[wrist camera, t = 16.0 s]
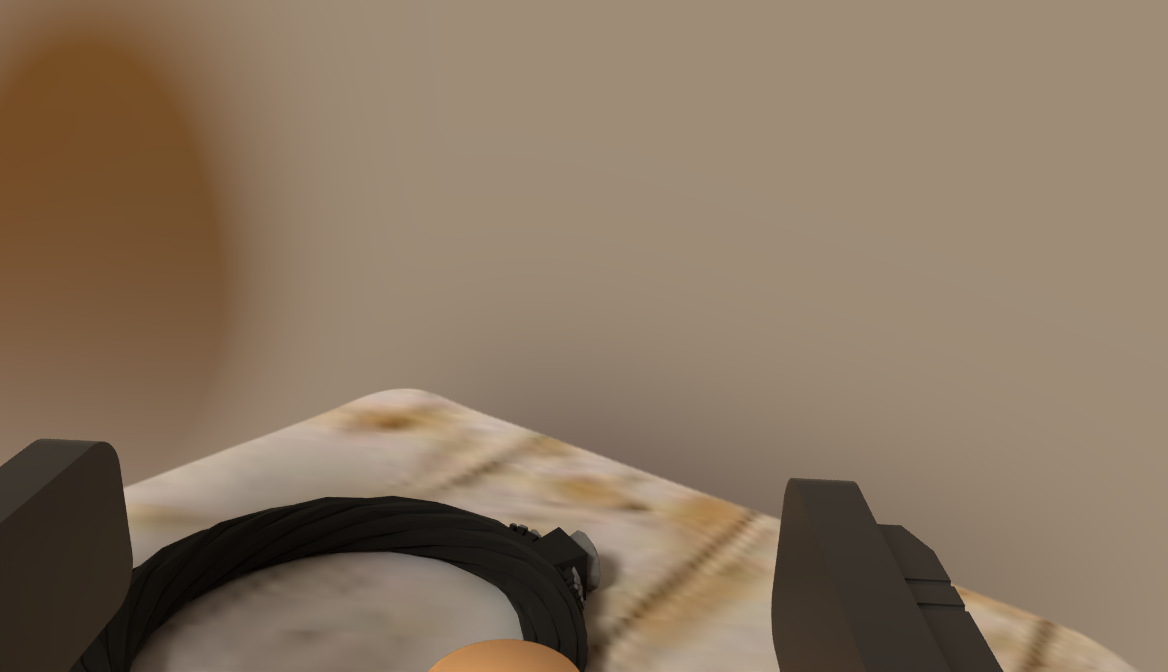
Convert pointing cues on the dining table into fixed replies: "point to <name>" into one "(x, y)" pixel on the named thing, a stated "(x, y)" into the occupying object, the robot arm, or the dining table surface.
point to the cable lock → (339, 524)
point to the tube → (504, 658)
